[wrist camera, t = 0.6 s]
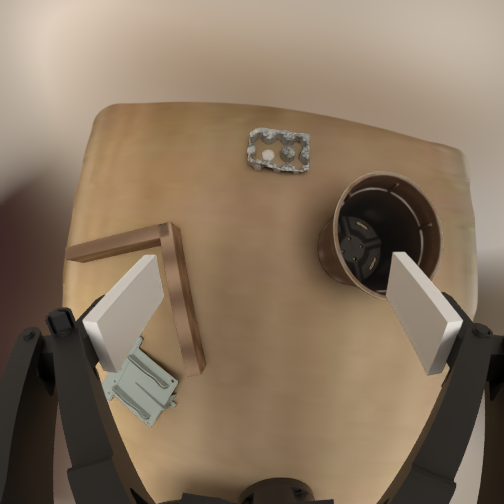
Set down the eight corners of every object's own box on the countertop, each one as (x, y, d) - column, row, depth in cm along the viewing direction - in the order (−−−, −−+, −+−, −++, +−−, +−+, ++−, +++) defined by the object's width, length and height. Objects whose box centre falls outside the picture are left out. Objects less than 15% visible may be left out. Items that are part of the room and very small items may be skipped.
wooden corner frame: (206, 364, 46) (200, 374, 40) (105, 374, 45) (90, 383, 39) (179, 229, 49) (170, 221, 43) (82, 251, 48) (65, 247, 42)
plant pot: (401, 225, 49) (452, 203, 33) (376, 309, 48) (427, 317, 32) (323, 190, 50) (353, 150, 34) (292, 277, 48) (314, 273, 32)
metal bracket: (183, 377, 41) (144, 440, 39) (198, 372, 46) (161, 432, 44) (120, 324, 45) (89, 387, 44) (139, 325, 51) (108, 384, 49)
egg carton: (245, 171, 50) (244, 162, 46) (250, 134, 51) (250, 123, 47) (305, 179, 50) (310, 170, 46) (308, 142, 51) (312, 131, 47)
